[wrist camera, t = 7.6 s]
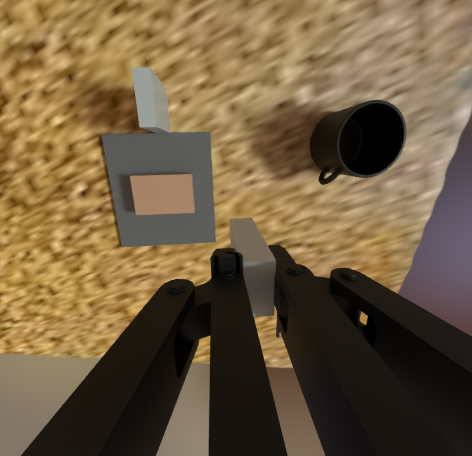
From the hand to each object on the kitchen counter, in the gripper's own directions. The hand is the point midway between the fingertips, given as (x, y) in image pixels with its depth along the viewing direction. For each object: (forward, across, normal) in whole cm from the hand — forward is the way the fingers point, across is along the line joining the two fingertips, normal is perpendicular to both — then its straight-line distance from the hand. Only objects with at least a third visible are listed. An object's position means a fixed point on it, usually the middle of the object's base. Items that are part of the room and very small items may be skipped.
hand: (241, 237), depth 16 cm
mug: (+25, +18, +6) cm, 31 cm away
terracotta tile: (+23, -5, 0) cm, 23 cm away
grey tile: (+24, -9, +12) cm, 28 cm away
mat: (+24, -10, 0) cm, 26 cm away
